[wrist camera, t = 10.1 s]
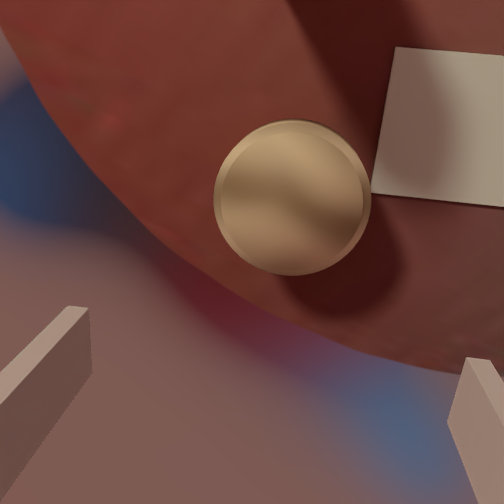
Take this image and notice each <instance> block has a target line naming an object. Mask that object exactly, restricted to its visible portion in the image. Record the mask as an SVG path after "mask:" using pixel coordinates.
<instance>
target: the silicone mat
mask: <svg viewBox="0 0 504 504" xmlns="http://www.w3.org/2000/svg"><path fill="white" fill-rule="evenodd" d="M370 189H371V193H379V194H388V195H398V196H407V197H416V198H426V199H435V200H444V201H454V202H463V203H472V204H482V205H491V206H500V207H504V56H499V55H487V54H475V53H463V52H451V51H439V50H428V49H416V48H404V47H395V52H394V57H393V63H392V68H391V74H390V79H389V85H388V91H387V96H386V102H385V107H384V113H383V119H382V124H381V130H380V135H379V141H378V147H377V152H376V158H375V163H374V169H373V174H372V180H371V186H370Z"/></svg>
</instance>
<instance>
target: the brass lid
mask: <svg viewBox="0 0 504 504" xmlns="http://www.w3.org/2000/svg"><path fill="white" fill-rule="evenodd" d="M214 210H215V216H216V219H217V223H218V226H219V228H220V230H221V233H222V235H223V236H224V238H225V240H226V241H227V243H228V244H229V245H230V246H231V248H232V249H233V250H234V251H235V252H236V253H237V254H238V255H239V256H240V257H241V258H243V259H244V260H245V261H247V262H248V263H250V264H252V265H253V266H255V267H257V268H259V269H262V270H264V271H267V272H270V273H274V274H279V275H289V276H297V275H306V274H311V273H315V272H318V271H321V270H323V269H326V268H328V267H330V266H332V265H333V264H335V263H337V262H338V261H340V260H341V259H342V258H343V257H345V256H346V255H347V254H348V253H349V252H350V251H351V250H352V249H353V248H354V246H355V245H356V244H357V242H358V241H359V240H360V238H361V236H362V234H363V232H364V230H365V228H366V225H367V223H368V219H369V215H370V210H371V189H370V184H369V179H368V176H367V173H366V171H365V169H364V167H363V165H362V162H361V161H360V159H359V157H358V155H357V154H356V152H355V151H354V149H353V148H352V146H351V145H350V144H349V143H348V142H347V141H346V140H345V139H344V138H343V137H342V136H341V135H340V134H338V133H337V132H336V131H334V130H332V129H331V128H329V127H327V126H325V125H323V124H321V123H318V122H314V121H311V120H305V119H282V120H277V121H273V122H270V123H267V124H265V125H262V126H260V127H259V128H257V129H255V130H253V131H252V132H251V133H249V134H248V135H247V136H245V137H244V138H243V139H242V140H241V141H240V142H239V143H238V144H237V146H236V147H235V148H234V149H233V150H232V151H231V152H230V154H229V155H228V156H227V158H226V159H225V161H224V163H223V164H222V166H221V168H220V171H219V173H218V176H217V179H216V183H215V188H214Z"/></svg>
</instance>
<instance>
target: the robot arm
mask: <svg viewBox="0 0 504 504" xmlns="http://www.w3.org/2000/svg"><path fill="white" fill-rule="evenodd" d="M91 373H92V359H91V341H90V322H89V308H83V307H75V306H67V307H66V308H65V309H64V310H63V311H62V312H61V313H60V314H59V315H58V316H57V317H56V318H55V319H54V320H53V321H52V322H51V323H50V324H49V325H48V326H47V327H46V328H45V329H44V330H43V331H42V332H41V333H40V334H39V335H38V336H37V337H36V338H35V339H34V340H33V341H32V342H31V343H30V344H29V345H28V346H27V347H26V348H24V350H22V351H21V352H20V353H19V354H18V355H17V357H15V358H14V359H13V360H12V361H11V363H9V364H8V365H7V366H6V367H5V368H4V369H3V370H2V371H1V372H0V501H1V500H2V498H3V497H4V496H5V494H6V493H7V491H8V490H9V489H10V487H11V486H12V484H13V483H14V482H15V480H16V479H17V477H18V476H19V475H20V473H21V472H22V470H23V469H24V468H25V466H26V465H27V463H28V462H29V460H30V459H31V458H32V456H33V455H34V453H35V452H36V451H37V449H38V448H39V447H40V445H41V444H42V442H43V441H44V439H45V438H46V437H47V435H48V434H49V432H50V431H51V430H52V428H53V427H54V425H55V424H56V423H57V421H58V420H59V418H60V417H61V415H62V414H63V413H64V411H65V410H66V409H67V407H68V406H69V404H70V403H71V402H72V400H73V399H74V397H75V396H76V395H77V393H78V392H79V390H80V389H81V388H82V386H83V385H84V383H85V382H86V381H87V379H88V378H89V376H90V375H91ZM447 423H448V426H449V429H450V431H451V433H452V436H453V439H454V441H455V444H456V447H457V449H458V452H459V454H460V457H461V459H462V462H463V464H464V467H465V470H466V472H467V475H468V477H469V480H470V483H471V485H472V487H473V490H474V493H475V495H476V498H477V501H478V503H479V504H504V382H503V381H502V379H501V378H500V376H499V374H498V373H497V371H496V370H495V368H494V366H493V365H492V363H491V361H490V360H484V359H476V358H469V357H466V360H465V363H464V367H463V370H462V373H461V377H460V380H459V384H458V387H457V391H456V394H455V397H454V401H453V404H452V408H451V411H450V414H449V417H448V421H447Z"/></svg>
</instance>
